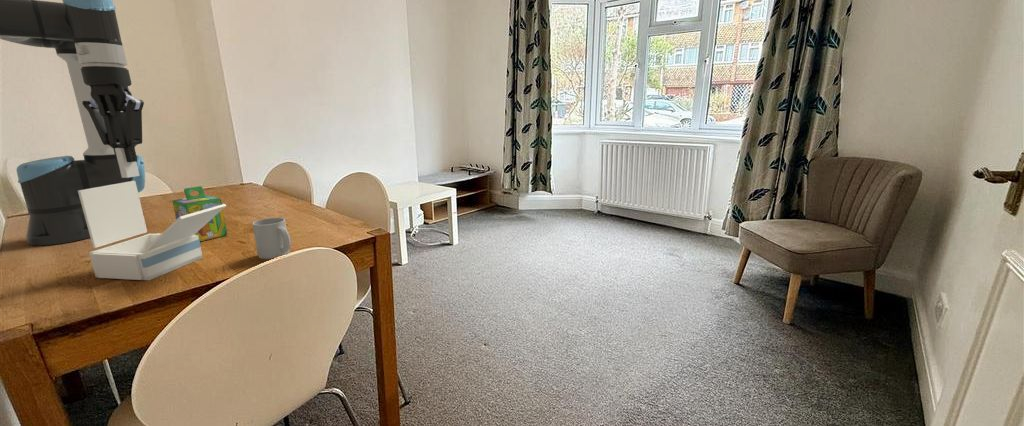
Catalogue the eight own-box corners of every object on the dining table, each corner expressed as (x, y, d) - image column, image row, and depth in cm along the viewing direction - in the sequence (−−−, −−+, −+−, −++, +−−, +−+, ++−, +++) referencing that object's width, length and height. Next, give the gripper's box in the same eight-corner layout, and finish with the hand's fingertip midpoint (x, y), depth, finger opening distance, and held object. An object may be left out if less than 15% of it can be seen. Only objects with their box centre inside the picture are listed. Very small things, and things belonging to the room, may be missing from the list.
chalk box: (193, 244, 118) (182, 192, 115) (178, 239, 123) (167, 188, 120) (229, 235, 126) (220, 186, 122) (214, 231, 131) (204, 183, 127)
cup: (277, 248, 114) (272, 216, 112) (303, 253, 110) (299, 220, 108) (251, 257, 108) (245, 223, 105) (278, 262, 103) (273, 227, 101)
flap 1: (93, 247, 95) (77, 190, 92) (145, 232, 107) (133, 180, 103) (95, 247, 95) (80, 190, 92) (147, 232, 107) (135, 180, 103)
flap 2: (144, 249, 93) (179, 216, 90) (192, 233, 105) (224, 203, 101) (146, 251, 93) (181, 219, 90) (193, 234, 105) (226, 205, 101)
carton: (92, 278, 95) (85, 253, 94) (157, 254, 110) (152, 232, 109) (146, 281, 93) (140, 255, 92) (205, 257, 108) (200, 234, 107)
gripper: (58, 66, 88) (88, 179, 93) (112, 63, 86) (139, 179, 91) (97, 68, 95) (123, 174, 101) (148, 67, 93) (171, 174, 99)
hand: (130, 176), depth 96 cm, fingers closed
